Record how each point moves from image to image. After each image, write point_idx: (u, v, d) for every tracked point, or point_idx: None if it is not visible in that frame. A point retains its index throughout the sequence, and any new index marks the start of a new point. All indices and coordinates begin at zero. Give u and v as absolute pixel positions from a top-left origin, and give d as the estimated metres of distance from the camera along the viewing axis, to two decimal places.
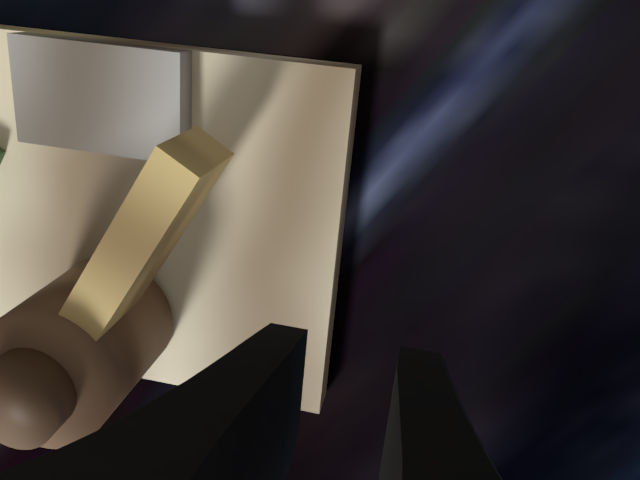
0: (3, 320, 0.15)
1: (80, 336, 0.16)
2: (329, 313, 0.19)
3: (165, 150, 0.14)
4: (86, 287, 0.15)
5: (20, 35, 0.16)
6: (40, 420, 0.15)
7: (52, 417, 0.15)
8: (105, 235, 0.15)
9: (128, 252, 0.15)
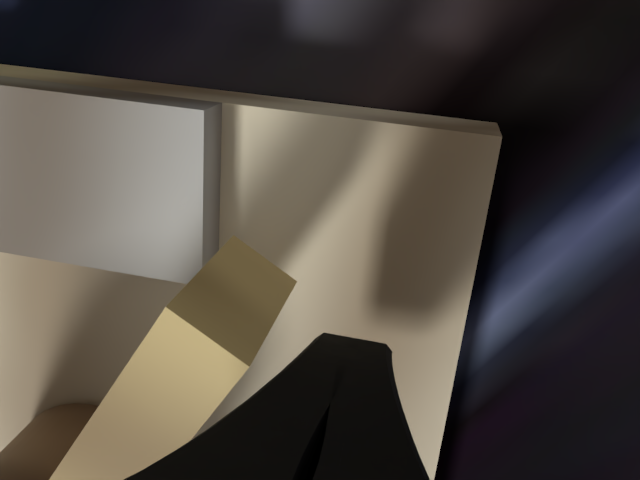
0: None
1: None
2: None
3: (184, 312, 0.07)
4: None
5: None
6: None
7: None
8: (74, 447, 0.08)
9: (115, 475, 0.08)
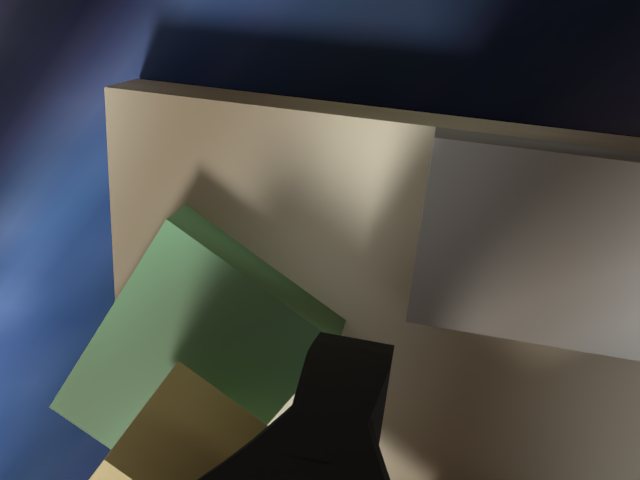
0: None
1: None
2: None
3: None
4: None
5: (464, 143, 0.09)
6: None
7: None
8: None
9: None
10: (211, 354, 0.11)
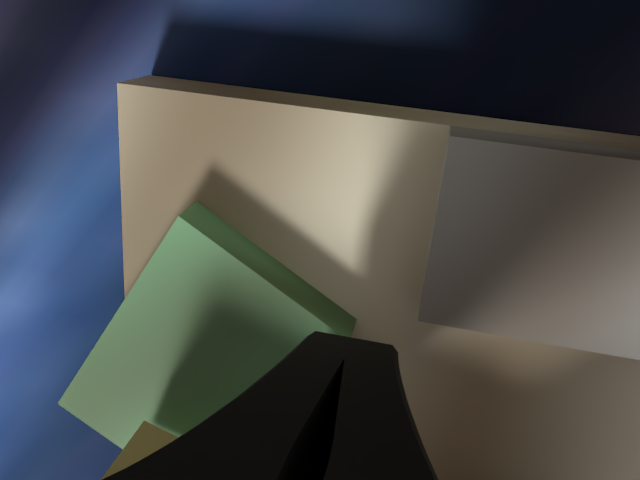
0: None
1: None
2: None
3: None
4: None
5: (480, 141, 0.09)
6: None
7: None
8: None
9: None
10: (221, 352, 0.11)
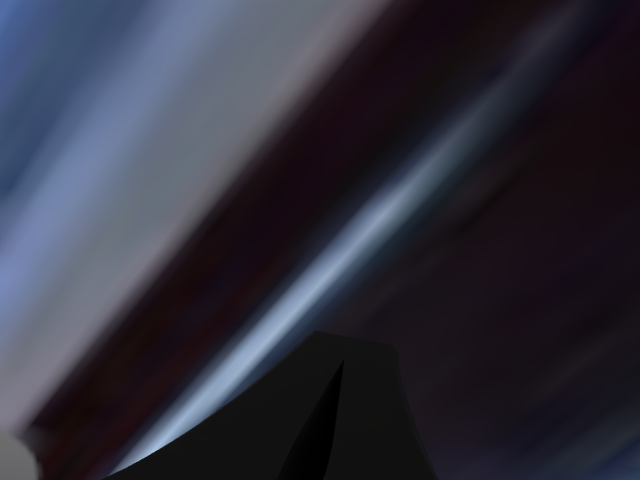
0: None
1: None
2: None
3: None
4: None
5: None
6: None
7: None
8: None
9: None
10: None
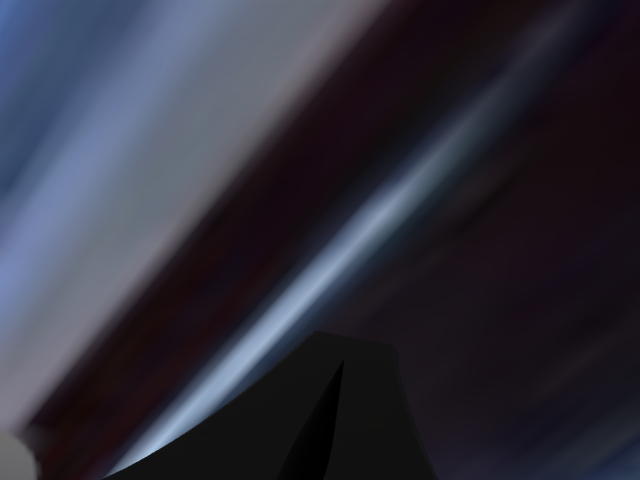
0: None
1: None
2: None
3: None
4: None
5: None
6: None
7: None
8: None
9: None
10: None
